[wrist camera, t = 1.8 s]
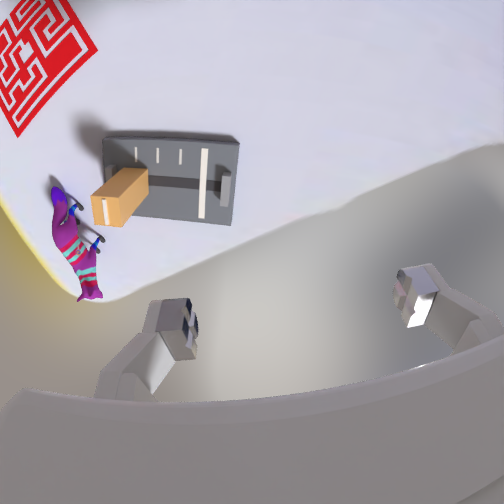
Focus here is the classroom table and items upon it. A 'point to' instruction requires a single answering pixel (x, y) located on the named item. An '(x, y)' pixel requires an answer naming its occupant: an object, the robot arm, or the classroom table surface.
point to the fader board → (179, 176)
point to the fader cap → (120, 197)
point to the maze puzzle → (40, 57)
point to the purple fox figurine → (75, 245)
